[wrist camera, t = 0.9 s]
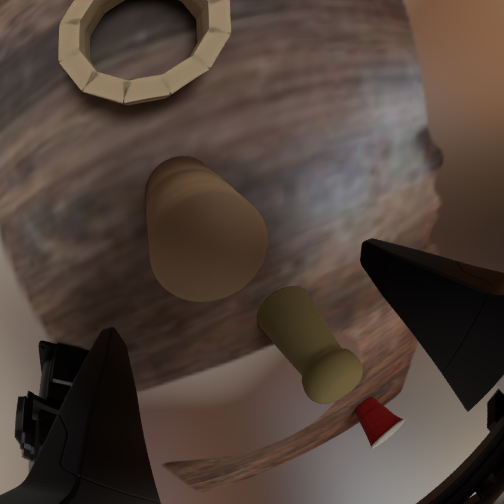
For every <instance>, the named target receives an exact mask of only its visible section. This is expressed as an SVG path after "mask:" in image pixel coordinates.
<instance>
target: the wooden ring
mask: <svg viewBox="0 0 504 504" xmlns="http://www.w3.org/2000/svg"><path fill="white" fill-rule="evenodd" d="M123 1H125V0H74V2H73V3H72V5H71V6H70V8H69V9H68V11H67V12H66V14H65V16H64V17H63V19H62V21H61V22H60V23H61V24H60V28H59V61H60V62H59V63H60V64H61V65H62V67H63V68H64V69H65V71H66V72H67V73H68V74H69V76H70V77H71V78H72V79H73V81H74V82H75V83H76V85H77V86H78V87H79V88H80V90H81V91H83V92H85V93H88V94H91V95H94V96H97V97H101V98H104V99H108V100H111V101H114V102H117V103H121V104H124V105H128V106H129V105H133V104H138V103H143V102H149V101H154V100H160V99H165V98H168V97H169V96H170V95H172V94H173V93H175V92H176V91H177V90H179V89H180V88H182V87H183V86H185V85H186V84H188V83H189V82H191V81H192V80H194V79H195V78H197V77H198V76H200V75H201V74H203V73H204V72H206V71H207V70H209V69H210V68H211V66H212V65H213V63H214V61H215V59H216V58H217V56H218V54H219V53H220V51H221V49H222V47H223V46H224V44H225V43H226V41H227V39H228V38H229V36H230V33H231V22H230V1H229V0H178V1H180V2H182V3H183V4H184V5H185V6H186V8H187V9H188V10H189V11H190V13H191V14H192V15H193V16H194V18H195V19H196V26H197V44H196V46H195V48H194V49H193V51H192V53H191V55H190V56H189V58H188V59H186V60H185V61H183V62H182V63H180V64H178V65H177V66H175V67H174V68H172V69H171V70H169V71H168V72H166V73H165V74H163V75H157V76H151V77H145V78H140V79H134V80H129V81H126V80H123V79H120V78H117V77H113V76H110V75H106V74H103V73H100V72H99V71H98V70H97V68H96V67H95V66H94V65H93V63H92V62H91V52H90V37H91V35H92V33H93V32H94V30H95V28H96V27H97V25H98V23H99V22H100V20H101V18H102V17H103V15H104V14H105V13H106V12H108V11H109V10H111V9H112V8H114V7H115V6H117V5H118V4H120V3H122V2H123Z"/></svg>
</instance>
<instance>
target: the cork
mask: <svg viewBox="0 0 504 504" xmlns="http://www.w3.org/2000/svg"><path fill="white" fill-rule="evenodd" d="M257 322H258V324H259V327H260V328H261V329H262V330H263V331H264V332H265V334H266V335H267V336H268V337H269V338H270V339H271V341H272V342H273V343H274V344H275V345H276V346H277V348H278V349H279V350H280V351H281V352H282V353H283V355H284V356H285V357H286V358H287V359H288V360H289V361H290V363H291V364H292V365H293V366H294V367H295V368H296V369H297V370H298V372H299V373H300V374H301V375H302V384H303V387H304V390H305V393H306V394H307V396H308V397H309V398H310V399H311V400H312V401H315V402H317V403H319V404H329V403H332V402H335V401H337V400H339V399H341V398H342V397H344V396H345V395H347V394H348V393H349V392H350V391H352V390H353V389H354V388H355V387H356V385H357V384H358V383H359V381H360V379H361V377H362V374H363V369H362V364H361V362H360V360H359V359H358V358H357V356H356V355H355V354H354V353H353V352H351V351H350V350H348V349H342V348H341V347H340V345H339V344H338V342H337V340H336V339H335V337H334V335H333V333H332V332H331V330H330V329H329V327H328V325H327V324H326V322H325V320H324V319H323V317H322V315H321V314H320V312H319V310H318V309H317V307H316V306H315V304H314V302H313V301H312V299H311V297H310V296H309V294H308V293H307V292H306V290H305V289H303V288H301V287H295V286H291V287H286V288H282V289H281V290H279V291H277V292H275V293H273V294H272V295H271V296H269V297H268V298H267V299H266V300H265V301H264V303H263V304H262V305H261V307H260V309H259V312H258V314H257Z"/></svg>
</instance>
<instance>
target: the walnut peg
mask: <svg viewBox="0 0 504 504" xmlns="http://www.w3.org/2000/svg"><path fill="white" fill-rule="evenodd" d="M146 215H147V231H148V244H149V256H150V263H151V267H152V270H153V273H154V275H155V277H156V279H157V280H158V281H159V283H160V284H161V285H162V286H163V287H164V288H165V289H166V290H167V291H168V292H170V293H171V294H173V295H175V296H176V297H179V298H181V299H184V300H188V301H193V302H210V301H216V300H220V299H223V298H226V297H228V296H230V295H233V294H234V293H236V292H238V291H239V290H241V289H242V288H244V287H245V286H246V285H247V284H248V283H249V282H250V281H251V280H252V279H253V278H254V277H255V276H256V274H257V273H258V272H259V270H260V268H261V267H262V265H263V263H264V260H265V257H266V254H267V250H268V231H267V227H266V224H265V222H264V219H263V218H262V216H261V214H260V213H259V212H258V210H257V209H256V208H255V207H254V206H253V205H251V204H250V203H249V202H248V201H247V200H246V199H245V198H244V197H242V196H241V195H240V194H239V193H238V192H237V191H236V190H234V189H233V188H232V187H231V186H230V185H229V184H227V183H226V182H225V181H224V180H223V179H222V178H220V177H219V176H218V175H217V174H216V173H215V172H213V171H212V170H211V169H210V168H209V167H207V166H206V165H205V164H204V163H203V162H201V161H199V160H197V159H195V158H192V157H185V156H181V157H174V158H171V159H168V160H166V161H164V162H163V163H161V164H160V165H159V166H158V167H157V168H155V170H154V171H153V172H152V174H151V175H150V177H149V179H148V182H147V185H146Z"/></svg>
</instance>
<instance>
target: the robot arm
mask: <svg viewBox="0 0 504 504" xmlns="http://www.w3.org/2000/svg"><path fill="white" fill-rule="evenodd" d="M360 262H361V265H362V267H363V268H364V270H365V271H366V272H367V274H368V275H369V277H370V278H371V280H372V281H373V283H374V284H375V286H376V287H377V288H378V290H379V291H380V293H381V294H382V296H383V297H384V298H385V299H386V301H387V302H388V303H389V304H390V306H391V307H392V308H393V309H394V311H395V312H396V313H397V314H398V316H399V317H400V318H401V319H402V321H403V322H404V323H405V324H406V326H407V327H408V328H409V330H410V331H411V332H412V333H413V335H414V336H415V337H416V339H417V340H418V341H419V343H420V344H421V345H422V347H423V348H424V349H425V351H426V352H427V353H428V355H429V356H430V357H431V359H432V360H433V362H434V363H435V365H436V366H437V367H438V369H439V370H440V371H441V373H442V375H443V376H444V378H445V379H446V380H447V382H448V383H449V385H450V386H451V388H452V389H453V391H454V392H455V394H456V395H457V397H458V398H459V400H460V401H461V403H462V404H463V406H464V408H465V409H466V410H467V411H470V410H471V409H472V408H473V407H474V406H475V405H476V404H477V403H478V402H479V401H480V400H481V399H482V398H483V397H484V396H485V395H486V394H487V393H488V392H489V391H490V390H491V388H493V386H495V385H496V386H497V387H498V389H497V391H496V392H495V393H494V395H493V396H492V397H491V399H490V400H489V401H488V403H487V408H488V409H487V412H488V414H487V416H488V417H487V428H488V429H489V431H490V433H489V434H488V435H487V437H486V438H485V439H484V440H483V441H482V442H481V444H480V445H479V446H478V447H477V448H476V449H475V450H474V452H473V453H472V454H471V455H470V456H469V457H468V458H467V459H466V460H465V461H464V462H463V463H462V464H461V465H460V466H459V467H458V468H457V469H456V470H455V471H454V472H453V473H452V474H451V475H450V476H449V477H447V478H446V479H445V480H444V481H443V482H442V483H441V484H440V485H439V486H437V487H436V488H435V489H434V490H433V491H432V492H430V493H429V494H428V495H427V496H425V497H424V498H423V499H422V500H420V501H419V502H418V503H416V504H504V273H503V272H499V271H494V270H490V269H486V268H482V267H478V266H474V265H470V264H466V263H463V262H459V261H456V260H455V261H454V260H452V259H449V258H445V257H442V256H438V255H435V254H431V253H427V252H424V251H420V250H416V249H412V248H409V247H405V246H401V245H397V244H393V243H389V242H385V241H381V240H377V239H373V238H371V239H368V240H366V241H364V242H363V243H362V247H361V257H360ZM39 355H40V364H41V370H42V377H41V384H40V391H39V396H37V395H34V394H33V393H32V392H30V391H28V393H27V396H24V397H18V402H17V410H16V421H15V438H16V440H17V441H18V442H19V444H20V449H22V457H23V458H25V459H27V460H29V474H28V476H27V478H26V479H25V480H24V482H23V483H22V484H20V485H19V486H18V487H16V488H14V489H12V490H10V491H8V492H6V493H4V494H2V495H0V504H161V503H160V499H159V495H158V492H157V488H156V485H155V482H154V478H153V474H152V470H151V466H150V462H149V458H148V453H147V449H146V444H145V439H144V434H143V429H142V424H141V418H140V412H139V405H138V398H137V392H136V387H135V382H134V378H133V374H132V369H131V365H130V360H129V356H128V351H127V347H126V344H125V343H124V341H123V340H122V338H121V337H120V335H119V334H118V332H117V331H116V329H115V328H114V327H109V328H106V329H103V330H102V331H101V332H100V334H99V336H98V337H97V339H96V341H95V343H94V344H93V346H92V348H91V350H90V352H89V351H84V350H80V349H75V348H71V347H66V346H62V345H58V344H54V343H50V342H46V341H40V342H39ZM474 492H476V494H475V495H473V496H472V497H470V496H471V495H472V494H473V493H474Z"/></svg>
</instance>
